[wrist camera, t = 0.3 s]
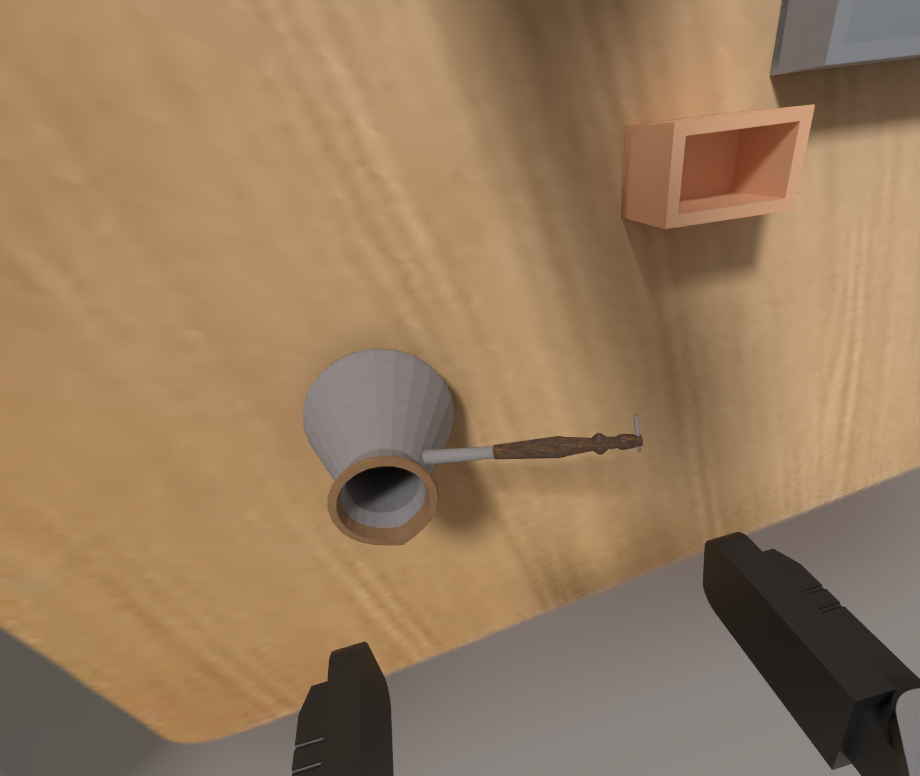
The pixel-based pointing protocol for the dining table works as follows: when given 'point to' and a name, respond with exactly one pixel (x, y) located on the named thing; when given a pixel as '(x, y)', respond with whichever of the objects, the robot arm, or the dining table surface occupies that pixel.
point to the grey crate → (845, 34)
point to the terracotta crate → (714, 166)
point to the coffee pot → (401, 442)
